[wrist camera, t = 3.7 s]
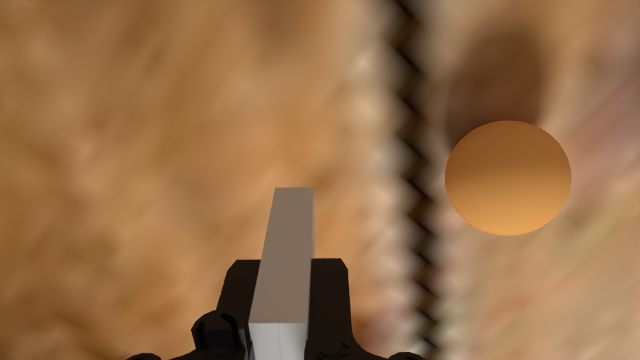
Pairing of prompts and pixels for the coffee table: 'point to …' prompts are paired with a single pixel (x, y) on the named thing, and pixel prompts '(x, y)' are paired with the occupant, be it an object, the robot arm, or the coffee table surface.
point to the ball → (508, 177)
